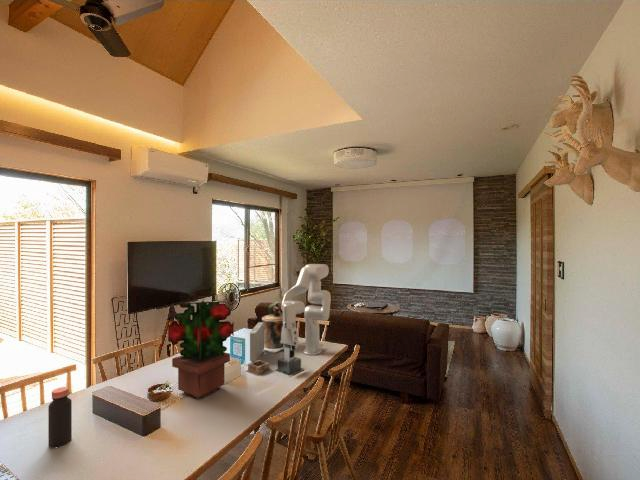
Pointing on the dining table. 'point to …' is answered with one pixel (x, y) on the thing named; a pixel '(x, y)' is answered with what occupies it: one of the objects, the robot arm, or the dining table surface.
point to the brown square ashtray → (258, 367)
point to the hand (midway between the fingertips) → (289, 355)
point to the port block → (289, 366)
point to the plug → (287, 353)
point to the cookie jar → (273, 329)
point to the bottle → (59, 418)
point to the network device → (257, 341)
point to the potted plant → (201, 346)
